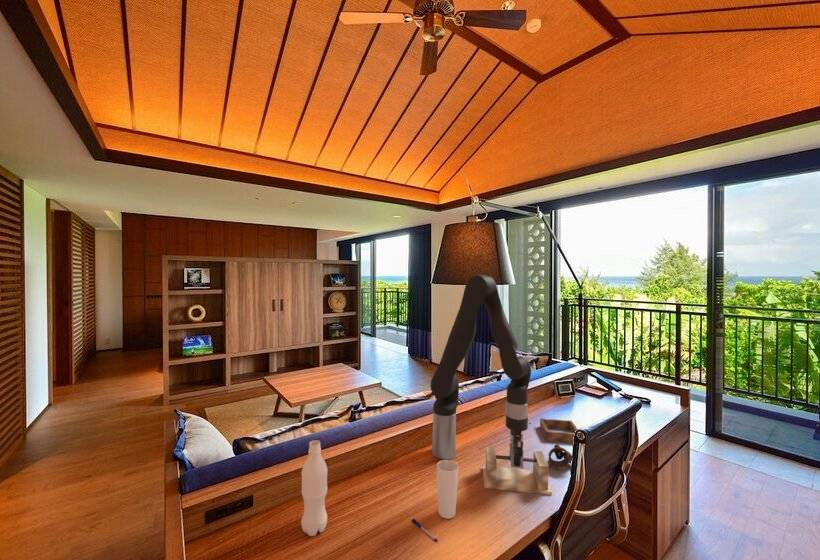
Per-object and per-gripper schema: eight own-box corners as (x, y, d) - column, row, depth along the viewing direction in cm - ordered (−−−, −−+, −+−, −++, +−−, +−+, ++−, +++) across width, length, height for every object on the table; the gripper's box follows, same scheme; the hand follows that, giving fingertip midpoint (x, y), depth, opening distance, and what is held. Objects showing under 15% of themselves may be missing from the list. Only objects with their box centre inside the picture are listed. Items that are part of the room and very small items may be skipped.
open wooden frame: (546, 440, 154) (546, 431, 154) (539, 426, 168) (539, 418, 168) (581, 443, 152) (581, 434, 152) (571, 429, 166) (571, 420, 166)
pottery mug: (582, 475, 129) (574, 459, 127) (557, 484, 130) (550, 468, 128) (569, 451, 141) (562, 435, 139) (546, 459, 142) (539, 444, 140)
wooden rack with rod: (484, 487, 120) (484, 462, 120) (482, 468, 132) (483, 444, 132) (551, 495, 117) (552, 468, 116) (543, 474, 128) (544, 450, 128)
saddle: (511, 467, 122) (511, 449, 122) (509, 459, 127) (509, 442, 127) (523, 468, 121) (523, 450, 121) (520, 460, 126) (521, 443, 126)
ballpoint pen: (410, 521, 104) (411, 518, 104) (413, 520, 104) (413, 517, 104) (436, 542, 96) (436, 539, 96) (438, 541, 96) (438, 537, 96)
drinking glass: (443, 503, 112) (444, 456, 111) (462, 512, 108) (463, 464, 107) (431, 514, 107) (432, 465, 106) (450, 525, 102) (451, 474, 102)
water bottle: (329, 520, 104) (330, 436, 103) (324, 538, 96) (324, 449, 96) (304, 520, 103) (305, 436, 103) (298, 539, 96) (298, 449, 96)
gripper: (503, 405, 131) (502, 450, 132) (508, 421, 117) (507, 472, 118) (524, 406, 130) (523, 452, 131) (531, 423, 116) (530, 474, 116)
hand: (515, 461), depth 124 cm, fingers closed on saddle, 5 cm apart
